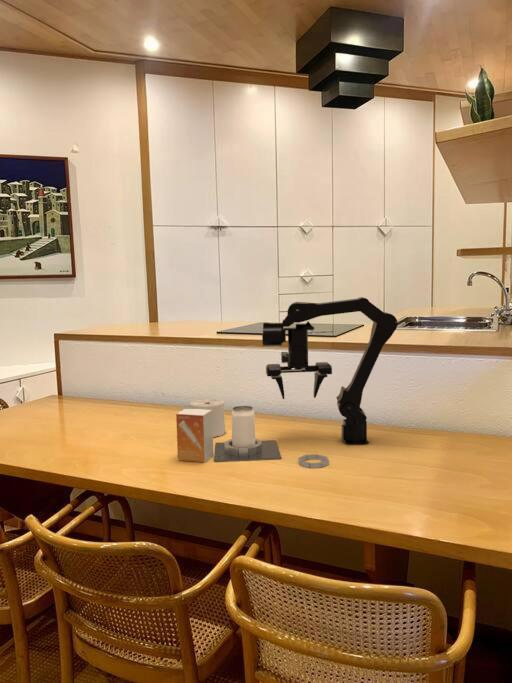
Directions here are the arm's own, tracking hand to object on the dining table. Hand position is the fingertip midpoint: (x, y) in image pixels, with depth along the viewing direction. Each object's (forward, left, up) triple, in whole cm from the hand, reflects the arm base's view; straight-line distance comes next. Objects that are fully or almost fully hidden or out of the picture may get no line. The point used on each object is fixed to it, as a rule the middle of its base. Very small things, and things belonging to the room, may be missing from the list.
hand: (299, 398), depth 155 cm
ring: (-1, +19, -13) cm, 23 cm away
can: (+17, +7, -13) cm, 22 cm away
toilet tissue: (+28, -12, -13) cm, 33 cm away
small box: (+30, +11, -13) cm, 35 cm away
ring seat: (+17, +7, -13) cm, 23 cm away
